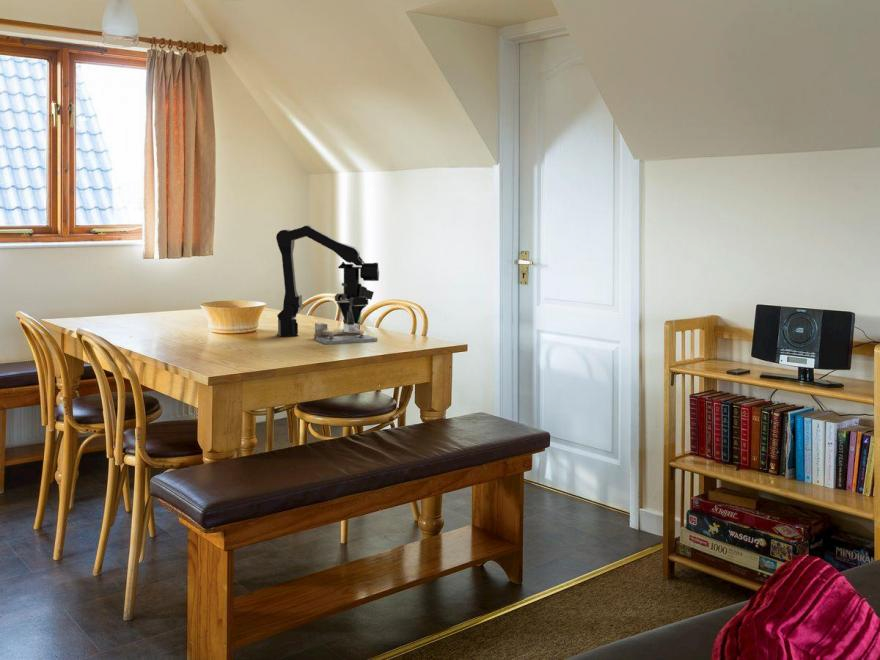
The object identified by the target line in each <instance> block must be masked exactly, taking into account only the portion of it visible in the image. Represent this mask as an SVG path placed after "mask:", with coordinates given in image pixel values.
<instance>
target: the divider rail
mask: <svg viewBox="0 0 880 660" xmlns="http://www.w3.org/2000/svg"><path fill="white" fill-rule="evenodd" d="M351 335H360V333H347V332H344V331H343V332H333V331H330V330H328V324H327V323H325V322H314V335H313V338H314V339H316V337H329V338H333V336H351Z"/></svg>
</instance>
